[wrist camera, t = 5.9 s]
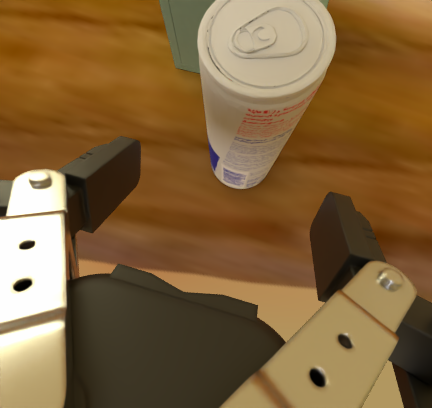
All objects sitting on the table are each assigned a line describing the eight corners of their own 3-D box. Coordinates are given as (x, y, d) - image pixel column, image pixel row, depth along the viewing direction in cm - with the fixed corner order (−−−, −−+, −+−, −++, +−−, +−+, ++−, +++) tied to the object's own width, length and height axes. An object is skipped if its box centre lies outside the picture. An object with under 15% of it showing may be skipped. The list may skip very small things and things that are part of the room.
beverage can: (281, 154, 25) (367, 17, 10) (247, 201, 24) (289, 126, 10) (233, 123, 26) (249, -48, 11) (199, 168, 25) (167, 48, 10)
